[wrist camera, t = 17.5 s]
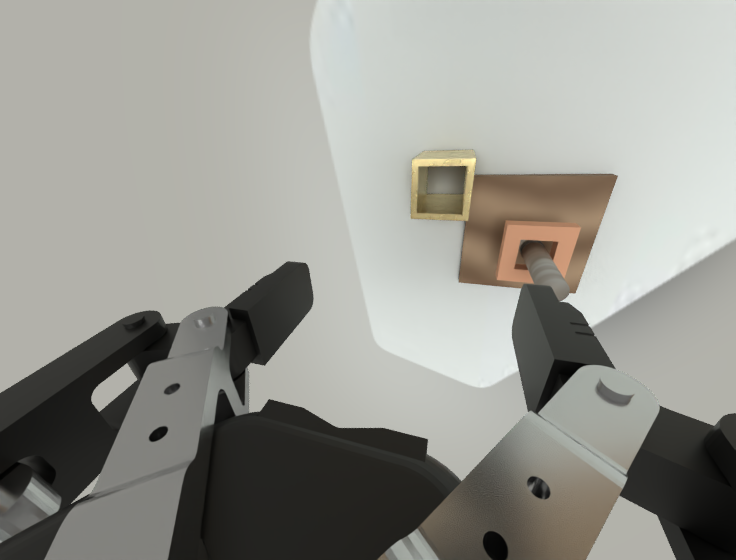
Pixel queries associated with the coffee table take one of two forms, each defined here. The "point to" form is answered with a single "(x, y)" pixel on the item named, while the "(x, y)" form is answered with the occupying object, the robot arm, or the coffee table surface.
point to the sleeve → (441, 203)
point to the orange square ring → (541, 231)
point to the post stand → (532, 203)
